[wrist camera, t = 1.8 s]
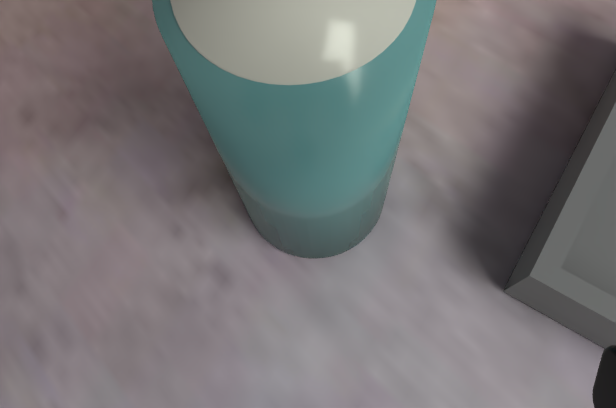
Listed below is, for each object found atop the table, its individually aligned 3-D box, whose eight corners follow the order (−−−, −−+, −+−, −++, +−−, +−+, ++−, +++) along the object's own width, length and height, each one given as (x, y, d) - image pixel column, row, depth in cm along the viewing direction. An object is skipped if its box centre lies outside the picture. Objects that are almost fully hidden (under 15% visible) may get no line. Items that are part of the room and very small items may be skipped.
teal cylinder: (339, 285, 21) (343, 154, 10) (219, 213, 23) (92, 18, 11) (409, 168, 23) (489, -69, 11) (293, 107, 24) (254, -165, 12)
